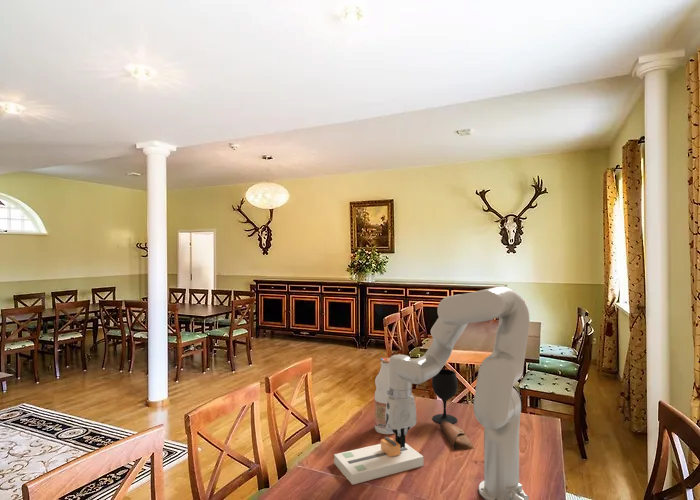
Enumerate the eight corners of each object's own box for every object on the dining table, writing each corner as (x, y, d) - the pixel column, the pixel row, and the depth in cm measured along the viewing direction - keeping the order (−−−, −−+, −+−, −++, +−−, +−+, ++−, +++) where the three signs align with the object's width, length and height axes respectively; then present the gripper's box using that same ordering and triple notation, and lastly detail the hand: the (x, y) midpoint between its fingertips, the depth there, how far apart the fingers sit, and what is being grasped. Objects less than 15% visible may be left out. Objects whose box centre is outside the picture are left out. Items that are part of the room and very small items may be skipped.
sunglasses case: (477, 449, 147) (467, 433, 147) (460, 459, 147) (450, 443, 147) (460, 427, 165) (452, 413, 165) (445, 437, 165) (437, 423, 165)
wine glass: (430, 423, 170) (430, 374, 170) (433, 413, 180) (433, 367, 180) (457, 426, 167) (456, 376, 167) (458, 416, 177) (457, 369, 177)
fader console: (400, 447, 148) (400, 438, 148) (423, 465, 136) (423, 456, 136) (334, 463, 137) (334, 454, 137) (352, 484, 125) (352, 474, 125)
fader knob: (390, 446, 142) (390, 435, 142) (400, 454, 137) (400, 442, 137) (380, 449, 140) (380, 437, 140) (389, 456, 135) (389, 445, 135)
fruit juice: (371, 426, 167) (371, 356, 167) (393, 423, 169) (393, 355, 169) (378, 436, 158) (378, 362, 158) (402, 433, 160) (402, 361, 160)
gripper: (386, 399, 134) (386, 455, 134) (425, 392, 140) (425, 446, 140) (375, 391, 141) (375, 445, 141) (412, 385, 147) (412, 437, 147)
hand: (400, 446), depth 140 cm, fingers closed
